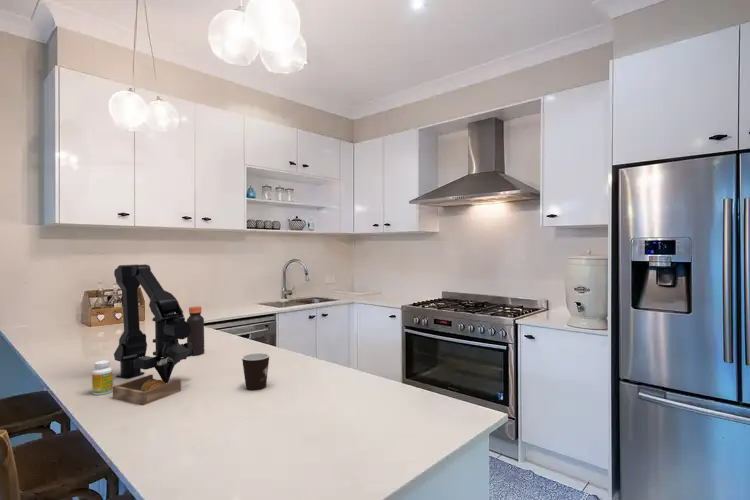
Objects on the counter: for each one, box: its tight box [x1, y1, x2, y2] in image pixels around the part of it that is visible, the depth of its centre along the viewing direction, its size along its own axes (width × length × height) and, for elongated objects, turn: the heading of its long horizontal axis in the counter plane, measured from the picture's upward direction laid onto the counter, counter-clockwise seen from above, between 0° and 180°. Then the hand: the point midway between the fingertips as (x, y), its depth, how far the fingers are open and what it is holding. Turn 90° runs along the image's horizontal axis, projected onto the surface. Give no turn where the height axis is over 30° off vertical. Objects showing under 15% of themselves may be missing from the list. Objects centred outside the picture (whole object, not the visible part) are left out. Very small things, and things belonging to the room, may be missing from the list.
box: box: [112, 374, 182, 406], centre depth 132 cm, size 14×13×4 cm
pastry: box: [140, 378, 167, 392], centre depth 133 cm, size 9×7×4 cm
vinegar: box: [186, 306, 205, 357], centre depth 180 cm, size 7×7×20 cm
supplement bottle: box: [91, 360, 114, 396], centre depth 134 cm, size 5×5×10 cm
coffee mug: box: [241, 352, 270, 391], centre depth 139 cm, size 12×9×10 cm
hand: (165, 383), depth 138 cm, fingers closed
